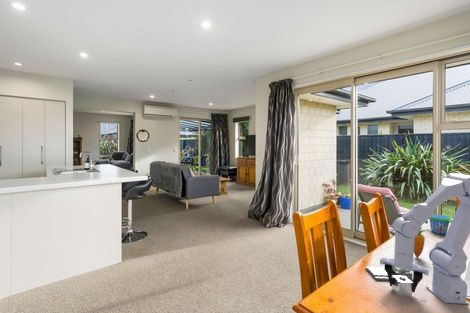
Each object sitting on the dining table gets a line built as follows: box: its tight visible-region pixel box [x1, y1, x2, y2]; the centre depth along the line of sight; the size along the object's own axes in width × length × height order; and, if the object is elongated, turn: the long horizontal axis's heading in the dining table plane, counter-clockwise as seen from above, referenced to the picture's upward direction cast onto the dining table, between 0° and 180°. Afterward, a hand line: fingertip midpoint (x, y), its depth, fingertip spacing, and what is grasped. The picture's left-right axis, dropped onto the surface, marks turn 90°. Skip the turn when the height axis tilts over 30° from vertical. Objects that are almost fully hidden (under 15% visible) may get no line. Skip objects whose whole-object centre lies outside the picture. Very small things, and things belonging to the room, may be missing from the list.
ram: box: [392, 266, 411, 272], centre depth 102 cm, size 6×5×6 cm
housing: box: [391, 275, 413, 297], centre depth 91 cm, size 4×4×5 cm
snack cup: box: [424, 213, 453, 235], centre depth 154 cm, size 16×10×10 cm
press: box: [364, 266, 413, 282], centre depth 103 cm, size 9×15×3 cm, turn 87°
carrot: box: [414, 226, 426, 258], centre depth 119 cm, size 5×5×15 cm
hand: (401, 287), depth 91 cm, fingers closed on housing, 6 cm apart
